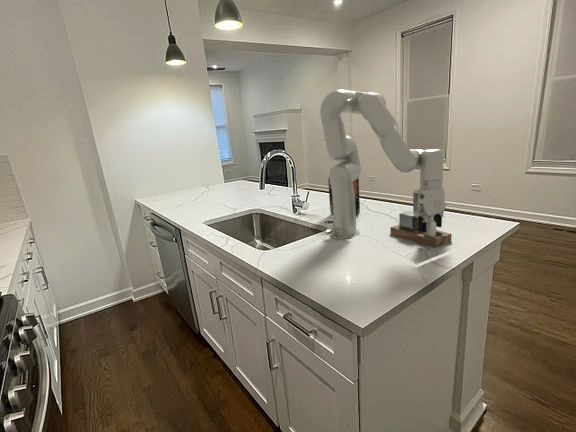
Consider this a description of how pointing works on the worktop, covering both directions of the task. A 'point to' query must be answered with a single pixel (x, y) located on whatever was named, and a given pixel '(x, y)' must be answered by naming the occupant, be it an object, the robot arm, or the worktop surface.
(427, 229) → the eye dropper bottle
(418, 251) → the worktop surface
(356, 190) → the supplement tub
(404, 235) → the wooden tray
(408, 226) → the block
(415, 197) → the pillar candle
